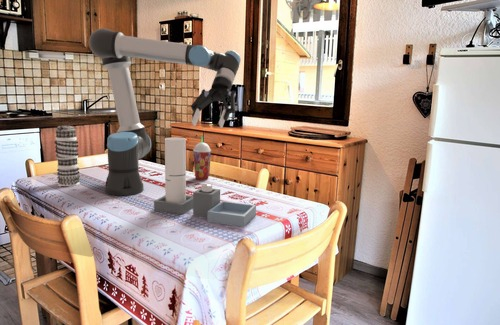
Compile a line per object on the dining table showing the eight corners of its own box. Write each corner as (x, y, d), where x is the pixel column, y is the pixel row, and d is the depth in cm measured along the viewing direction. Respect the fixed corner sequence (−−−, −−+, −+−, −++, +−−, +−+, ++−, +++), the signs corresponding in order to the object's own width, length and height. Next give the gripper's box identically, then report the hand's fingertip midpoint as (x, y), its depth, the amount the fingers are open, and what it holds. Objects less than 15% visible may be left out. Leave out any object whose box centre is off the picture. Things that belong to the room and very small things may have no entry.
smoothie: (213, 177, 186) (214, 136, 182) (206, 181, 178) (206, 138, 174) (198, 175, 188) (198, 135, 184) (189, 179, 181) (189, 137, 177)
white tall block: (181, 211, 135) (181, 140, 130) (162, 210, 136) (161, 139, 131) (188, 205, 142) (188, 138, 137) (170, 204, 143) (169, 136, 138)
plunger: (199, 197, 132) (199, 185, 131) (204, 194, 135) (204, 183, 135) (209, 198, 131) (209, 186, 130) (213, 195, 134) (213, 184, 134)
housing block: (193, 214, 132) (193, 192, 131) (201, 209, 139) (201, 187, 137) (212, 217, 130) (212, 194, 128) (219, 211, 137) (220, 189, 135)
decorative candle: (56, 187, 160) (52, 127, 155) (57, 182, 168) (53, 125, 163) (80, 186, 164) (77, 127, 159) (80, 181, 172) (77, 124, 167)
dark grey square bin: (154, 210, 135) (153, 200, 135) (169, 202, 146) (169, 193, 145) (182, 214, 132) (182, 204, 132) (196, 205, 142) (196, 196, 142)
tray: (207, 221, 126) (207, 211, 125) (221, 210, 138) (222, 200, 137) (244, 227, 122) (244, 216, 122) (255, 214, 134) (256, 205, 133)
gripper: (251, 89, 155) (237, 133, 143) (199, 88, 162) (182, 129, 150) (248, 75, 149) (233, 119, 137) (194, 74, 156) (175, 116, 144)
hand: (206, 124), depth 144 cm, fingers open, 10 cm apart
